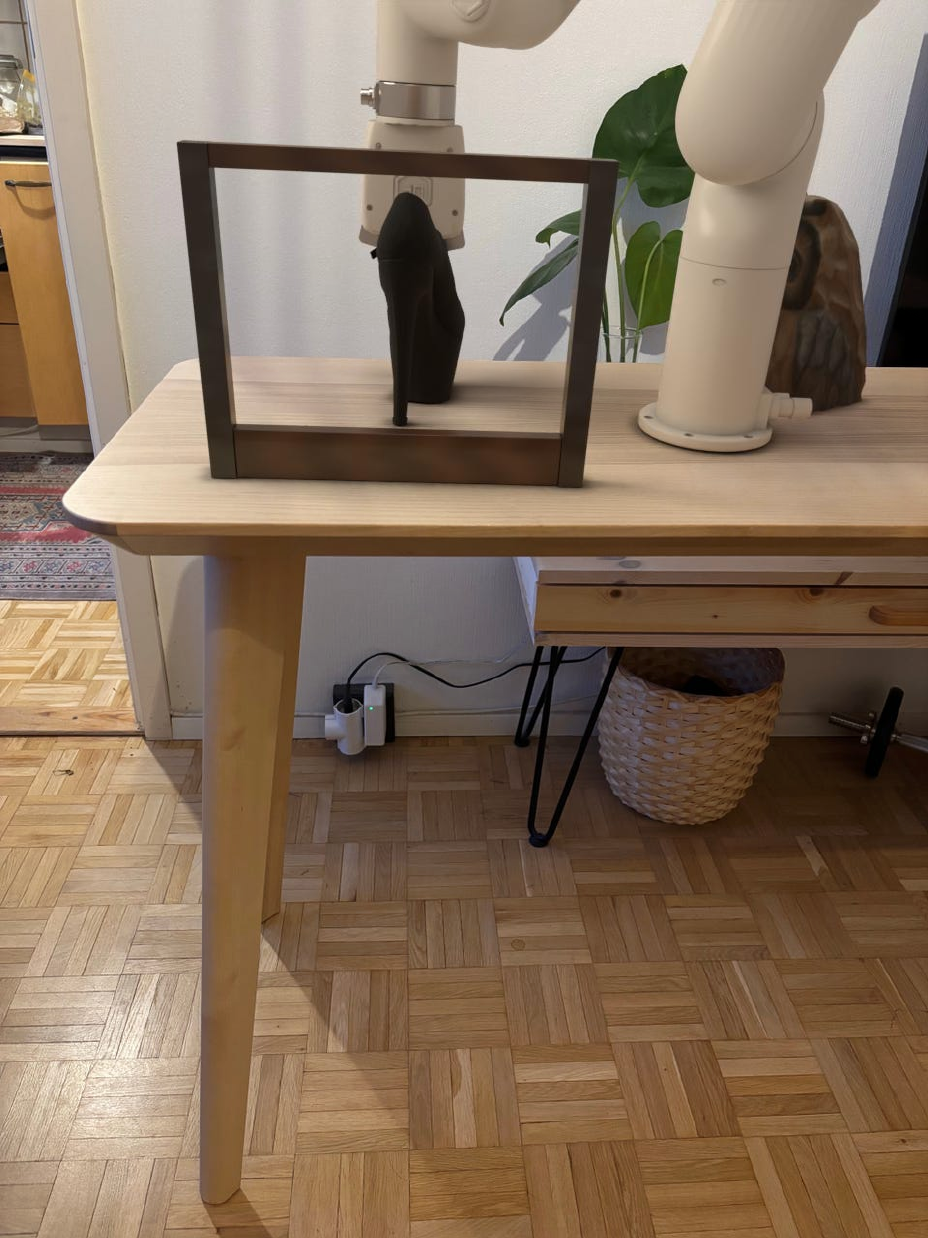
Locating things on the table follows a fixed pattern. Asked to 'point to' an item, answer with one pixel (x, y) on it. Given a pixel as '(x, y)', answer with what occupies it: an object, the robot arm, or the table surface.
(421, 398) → the high-heeled shoe
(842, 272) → the owl
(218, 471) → the wooden picture frame
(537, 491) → the table surface
